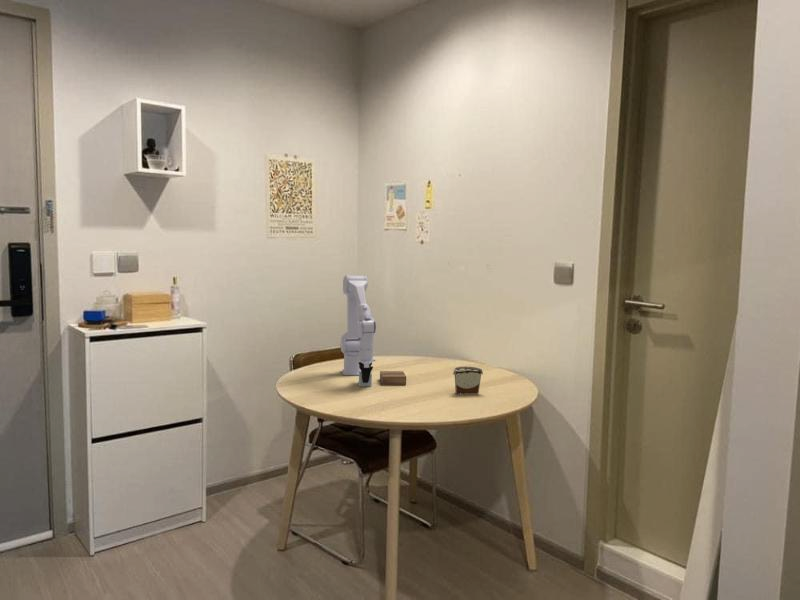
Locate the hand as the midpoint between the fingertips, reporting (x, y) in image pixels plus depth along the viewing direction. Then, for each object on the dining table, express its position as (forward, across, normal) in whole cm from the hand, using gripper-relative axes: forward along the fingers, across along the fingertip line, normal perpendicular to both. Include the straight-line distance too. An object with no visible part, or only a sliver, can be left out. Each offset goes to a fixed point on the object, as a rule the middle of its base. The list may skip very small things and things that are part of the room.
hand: (365, 380), depth 247 cm
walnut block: (+2, +5, -12) cm, 13 cm away
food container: (+2, -10, -40) cm, 41 cm away
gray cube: (+2, 0, 0) cm, 2 cm away
